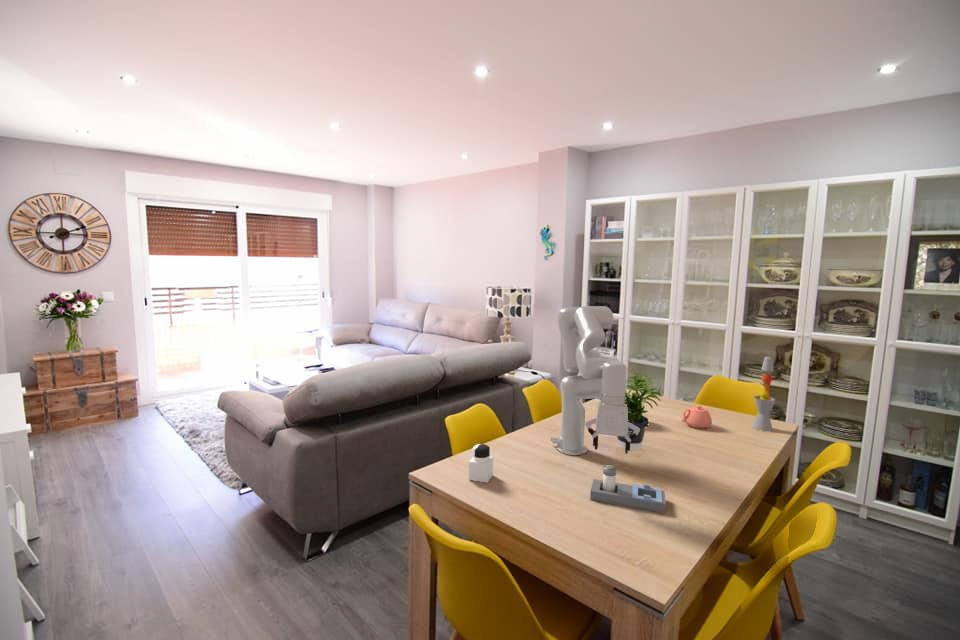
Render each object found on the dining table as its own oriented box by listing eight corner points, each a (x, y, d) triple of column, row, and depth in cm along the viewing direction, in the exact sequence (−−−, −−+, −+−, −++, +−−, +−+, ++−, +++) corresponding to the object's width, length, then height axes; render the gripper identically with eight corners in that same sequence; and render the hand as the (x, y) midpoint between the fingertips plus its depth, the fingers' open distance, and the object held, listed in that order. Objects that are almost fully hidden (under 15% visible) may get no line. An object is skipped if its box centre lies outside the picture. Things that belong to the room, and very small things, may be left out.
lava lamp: (752, 423, 225) (758, 354, 221) (773, 427, 220) (780, 356, 216) (750, 429, 218) (756, 357, 214) (772, 433, 213) (779, 360, 209)
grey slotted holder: (590, 499, 150) (590, 486, 149) (593, 487, 158) (593, 475, 158) (665, 513, 142) (665, 499, 142) (664, 499, 151) (664, 486, 150)
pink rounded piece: (716, 430, 216) (717, 409, 214) (686, 430, 216) (688, 409, 215) (704, 421, 228) (705, 402, 227) (676, 421, 228) (677, 401, 227)
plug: (601, 497, 151) (602, 469, 150) (602, 492, 155) (604, 464, 154) (614, 500, 150) (615, 471, 149) (615, 494, 154) (616, 466, 152)
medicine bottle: (493, 475, 167) (493, 443, 165) (487, 483, 160) (487, 451, 159) (475, 472, 169) (475, 441, 168) (468, 480, 162) (468, 448, 161)
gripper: (584, 399, 148) (583, 450, 149) (641, 405, 142) (638, 458, 143) (587, 394, 155) (586, 442, 156) (641, 399, 149) (639, 449, 150)
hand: (611, 450), depth 150 cm, fingers open, 9 cm apart
